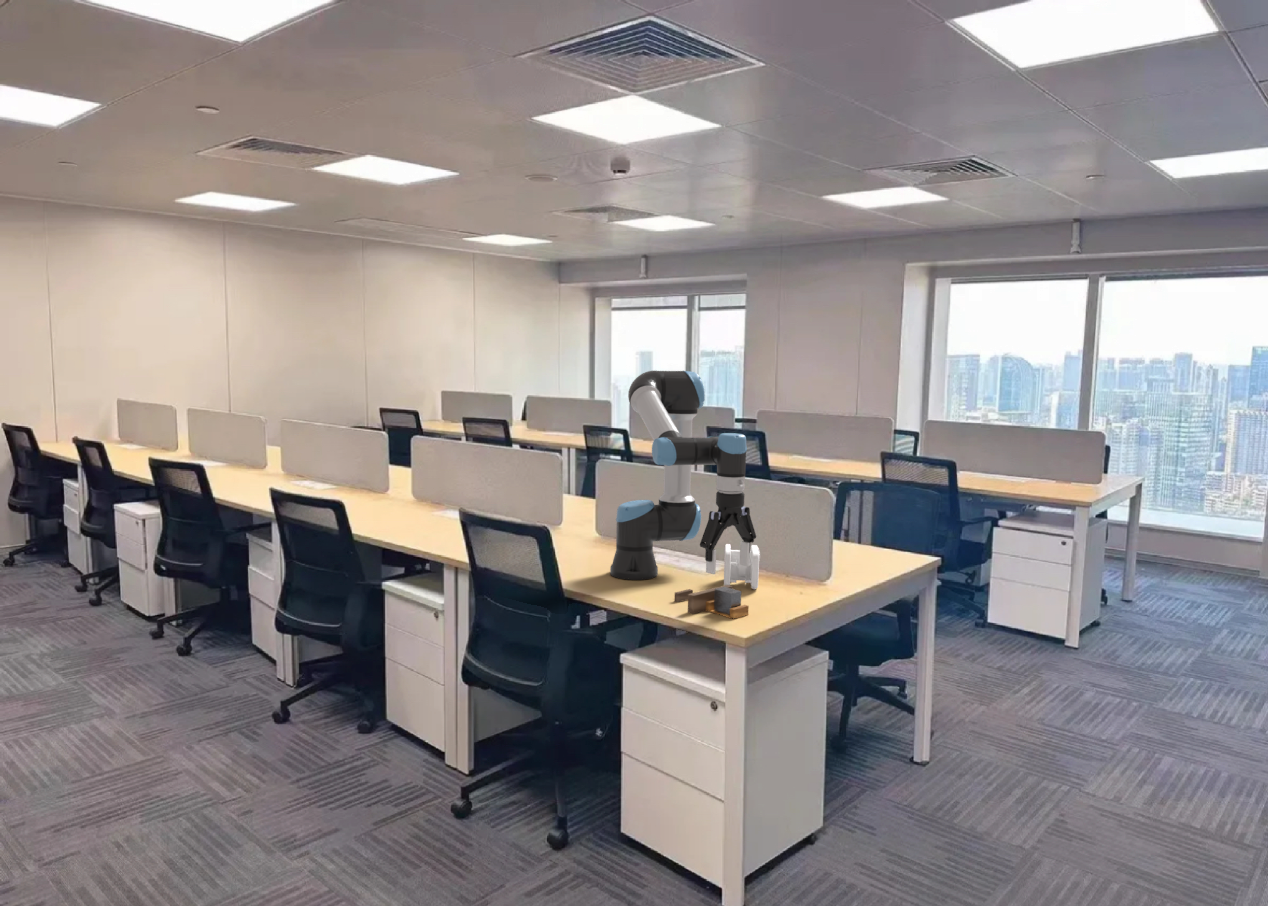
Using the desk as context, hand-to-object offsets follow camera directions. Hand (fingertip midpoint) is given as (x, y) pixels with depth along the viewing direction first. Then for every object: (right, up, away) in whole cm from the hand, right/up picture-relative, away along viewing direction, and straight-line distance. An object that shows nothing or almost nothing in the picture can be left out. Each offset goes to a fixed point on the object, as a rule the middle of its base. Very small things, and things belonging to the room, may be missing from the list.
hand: (727, 569), depth 230 cm
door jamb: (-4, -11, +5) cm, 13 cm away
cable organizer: (+7, -9, +31) cm, 33 cm away
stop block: (0, -12, +1) cm, 12 cm away
